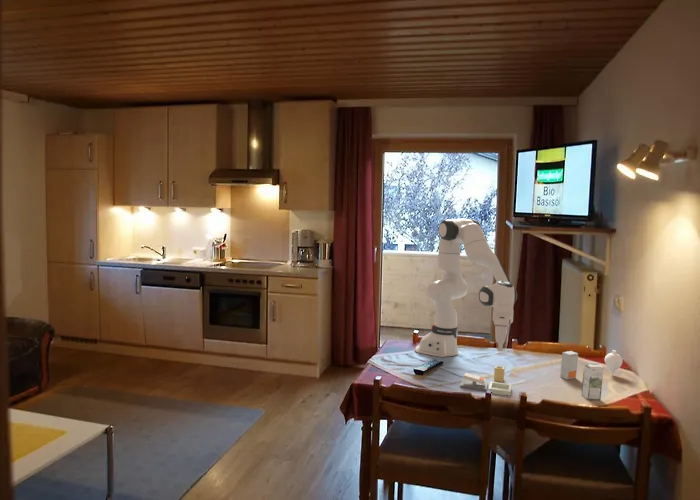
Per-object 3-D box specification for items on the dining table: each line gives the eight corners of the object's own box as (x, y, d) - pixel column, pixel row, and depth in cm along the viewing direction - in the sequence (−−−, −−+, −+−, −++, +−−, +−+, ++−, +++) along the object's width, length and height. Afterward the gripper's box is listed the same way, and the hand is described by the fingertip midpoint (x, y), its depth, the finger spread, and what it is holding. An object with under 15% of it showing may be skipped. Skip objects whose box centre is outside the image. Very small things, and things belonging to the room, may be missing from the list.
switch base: (460, 387, 237) (460, 382, 237) (462, 381, 245) (462, 376, 245) (486, 391, 234) (486, 386, 233) (487, 385, 241) (488, 380, 241)
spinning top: (606, 371, 266) (609, 347, 264) (623, 375, 260) (625, 350, 259) (600, 374, 260) (602, 350, 259) (617, 379, 255) (619, 353, 254)
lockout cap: (493, 380, 247) (494, 367, 246) (494, 378, 251) (495, 364, 250) (503, 382, 246) (504, 368, 245) (503, 379, 250) (504, 365, 249)
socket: (488, 392, 232) (488, 388, 232) (490, 385, 240) (490, 381, 240) (510, 396, 229) (510, 391, 229) (511, 388, 238) (511, 384, 237)
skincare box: (567, 380, 251) (569, 354, 250) (559, 377, 255) (561, 352, 254) (576, 378, 254) (578, 353, 253) (569, 375, 258) (571, 350, 257)
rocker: (463, 378, 238) (464, 374, 238) (464, 375, 242) (465, 372, 242) (484, 384, 236) (484, 380, 235) (485, 381, 240) (485, 378, 239)
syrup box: (594, 395, 233) (597, 362, 232) (601, 400, 228) (604, 366, 226) (581, 394, 233) (583, 361, 232) (587, 400, 227) (590, 366, 226)
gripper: (497, 312, 256) (495, 340, 258) (493, 321, 237) (491, 352, 238) (511, 313, 254) (509, 342, 255) (508, 323, 235) (506, 354, 236)
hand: (500, 347), depth 247 cm, fingers open, 8 cm apart
